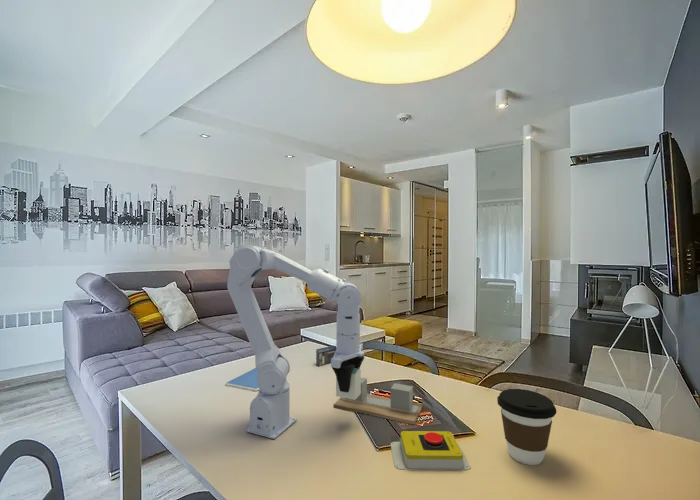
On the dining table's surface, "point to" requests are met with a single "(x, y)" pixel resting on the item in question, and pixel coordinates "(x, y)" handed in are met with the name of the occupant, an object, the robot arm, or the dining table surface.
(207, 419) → the dining table surface
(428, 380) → the dining table surface
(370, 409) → the board
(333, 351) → the mini dv tape
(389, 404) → the rail
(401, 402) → the block
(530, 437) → the coffee cup
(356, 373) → the block
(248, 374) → the tablet computer
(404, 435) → the emergency button
